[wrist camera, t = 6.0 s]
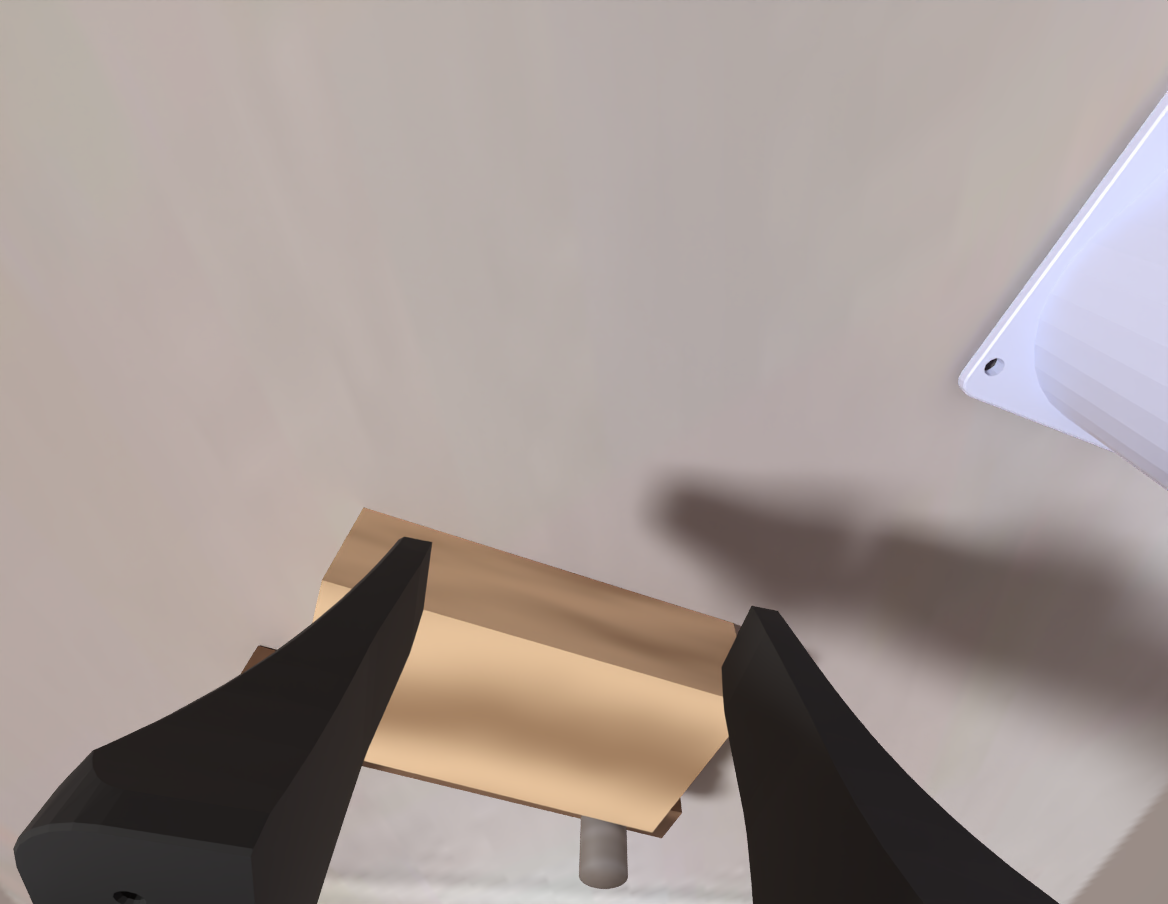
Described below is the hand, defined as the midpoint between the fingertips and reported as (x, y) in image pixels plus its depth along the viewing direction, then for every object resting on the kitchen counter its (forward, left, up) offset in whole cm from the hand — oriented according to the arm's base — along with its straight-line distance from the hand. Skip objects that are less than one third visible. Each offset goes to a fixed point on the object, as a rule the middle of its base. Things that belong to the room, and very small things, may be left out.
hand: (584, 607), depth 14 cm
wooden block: (+9, +1, -7) cm, 12 cm away
